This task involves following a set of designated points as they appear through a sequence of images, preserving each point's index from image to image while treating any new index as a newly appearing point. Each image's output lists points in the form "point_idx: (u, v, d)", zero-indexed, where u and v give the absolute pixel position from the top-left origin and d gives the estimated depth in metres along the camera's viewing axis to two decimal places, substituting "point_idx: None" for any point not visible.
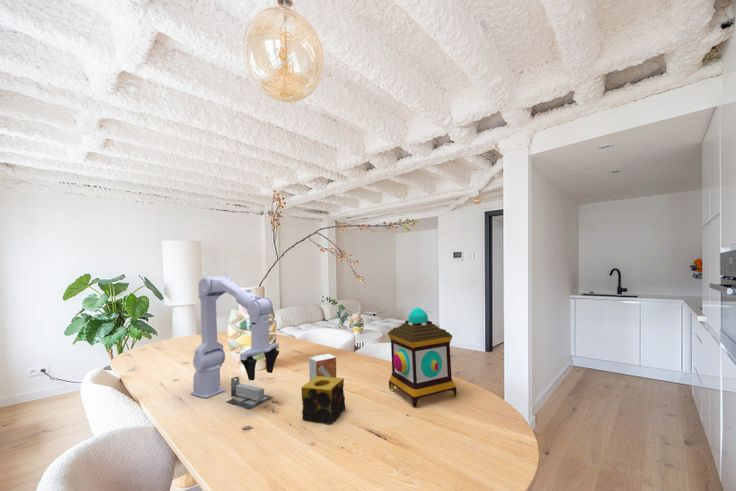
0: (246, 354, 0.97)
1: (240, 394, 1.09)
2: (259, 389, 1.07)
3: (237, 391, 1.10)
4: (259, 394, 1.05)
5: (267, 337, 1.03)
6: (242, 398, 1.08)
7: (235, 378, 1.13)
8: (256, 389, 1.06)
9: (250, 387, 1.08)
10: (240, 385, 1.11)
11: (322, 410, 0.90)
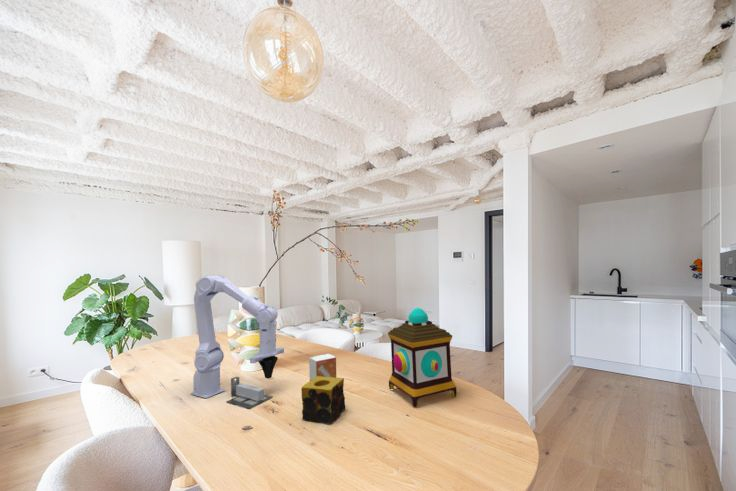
0: (255, 358, 1.08)
1: (240, 394, 1.09)
2: (259, 389, 1.07)
3: (237, 391, 1.10)
4: (259, 394, 1.05)
5: (274, 342, 1.14)
6: (242, 398, 1.08)
7: (235, 378, 1.13)
8: (256, 389, 1.06)
9: (250, 387, 1.08)
10: (240, 385, 1.11)
11: (322, 410, 0.90)
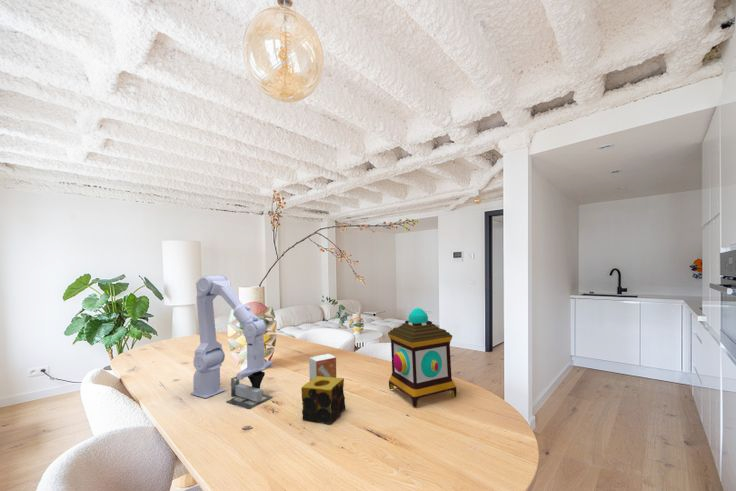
0: (243, 374, 1.03)
1: (239, 395, 1.09)
2: (257, 389, 1.06)
3: (236, 391, 1.10)
4: (257, 395, 1.04)
5: (262, 357, 1.09)
6: (242, 398, 1.08)
7: (235, 378, 1.13)
8: (254, 390, 1.06)
9: (249, 388, 1.08)
10: (239, 385, 1.11)
11: (322, 410, 0.90)
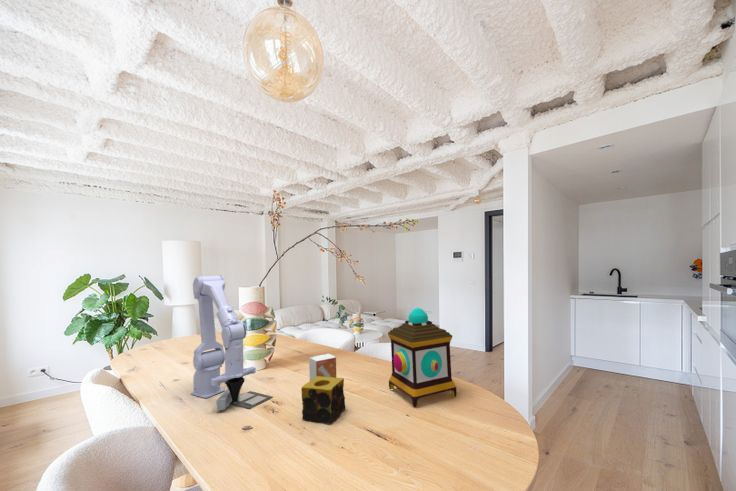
0: (216, 380, 0.98)
1: None
2: (223, 398, 1.00)
3: None
4: (218, 404, 0.99)
5: (240, 362, 1.03)
6: (242, 398, 1.08)
7: None
8: (221, 397, 1.01)
9: (226, 392, 1.04)
10: None
11: (322, 410, 0.90)
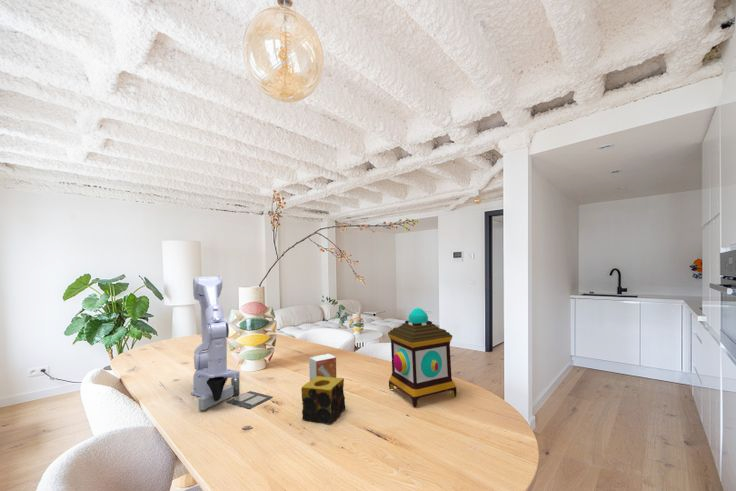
0: (197, 373, 1.03)
1: None
2: (204, 397, 1.01)
3: None
4: (199, 403, 1.00)
5: (214, 363, 1.01)
6: (242, 398, 1.08)
7: None
8: (205, 396, 1.02)
9: None
10: (227, 386, 1.10)
11: (322, 410, 0.90)
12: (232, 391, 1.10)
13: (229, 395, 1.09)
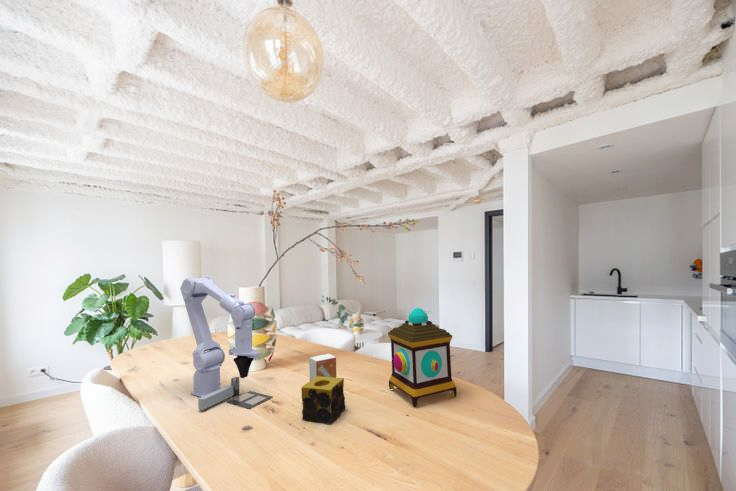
0: (229, 350, 1.13)
1: None
2: (204, 397, 1.01)
3: None
4: (199, 402, 1.00)
5: (238, 342, 1.08)
6: (242, 398, 1.08)
7: (235, 378, 1.13)
8: (205, 396, 1.02)
9: (214, 392, 1.05)
10: (227, 386, 1.10)
11: (322, 410, 0.90)
12: (232, 391, 1.10)
13: (229, 395, 1.09)
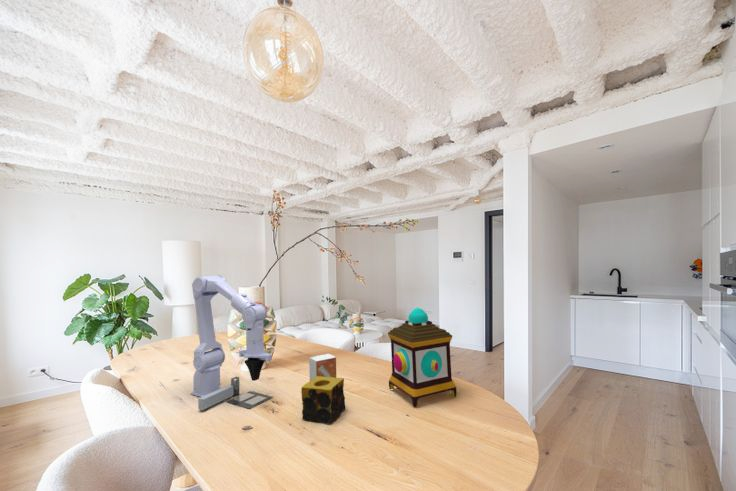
0: (240, 352, 1.10)
1: None
2: (204, 397, 1.01)
3: None
4: (199, 402, 1.00)
5: (249, 344, 1.05)
6: (242, 398, 1.08)
7: (235, 378, 1.13)
8: (205, 396, 1.02)
9: (214, 392, 1.05)
10: (227, 386, 1.10)
11: (322, 410, 0.90)
12: (232, 391, 1.10)
13: (229, 395, 1.09)
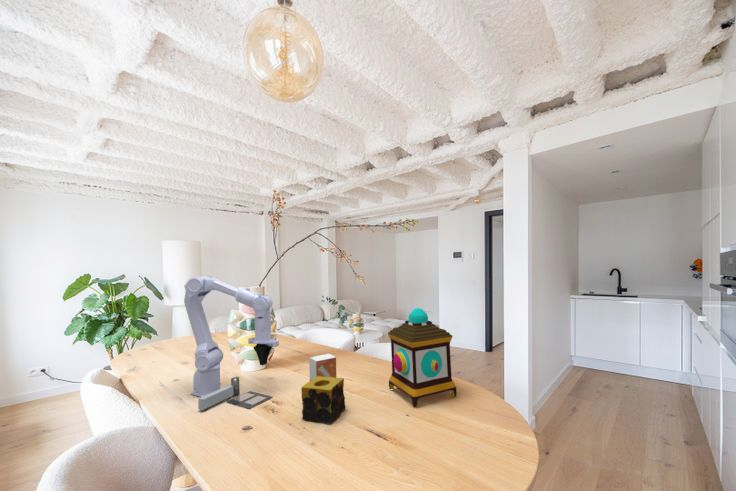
0: (249, 339, 1.19)
1: None
2: (204, 397, 1.01)
3: None
4: (199, 402, 1.00)
5: (258, 331, 1.14)
6: (242, 398, 1.08)
7: (235, 378, 1.13)
8: (205, 396, 1.02)
9: (214, 392, 1.05)
10: (227, 386, 1.10)
11: (322, 410, 0.90)
12: (232, 391, 1.10)
13: (229, 395, 1.09)
